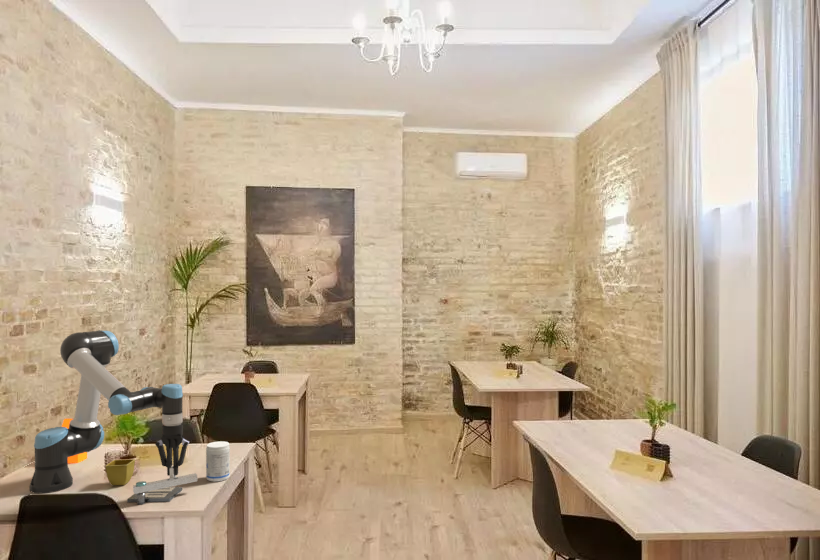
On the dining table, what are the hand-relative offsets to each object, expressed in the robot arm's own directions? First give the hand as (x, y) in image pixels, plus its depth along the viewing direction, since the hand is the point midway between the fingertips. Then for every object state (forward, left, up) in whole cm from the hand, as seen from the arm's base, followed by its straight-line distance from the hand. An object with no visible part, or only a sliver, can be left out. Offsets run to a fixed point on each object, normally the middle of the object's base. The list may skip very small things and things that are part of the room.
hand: (172, 483), depth 232 cm
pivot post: (-8, -10, -4) cm, 13 cm away
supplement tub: (+12, +18, -5) cm, 22 cm away
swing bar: (-1, -4, 0) cm, 4 cm away
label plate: (-6, -2, -4) cm, 8 cm away
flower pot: (-27, +13, -5) cm, 31 cm away
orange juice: (-66, +47, -5) cm, 81 cm away
